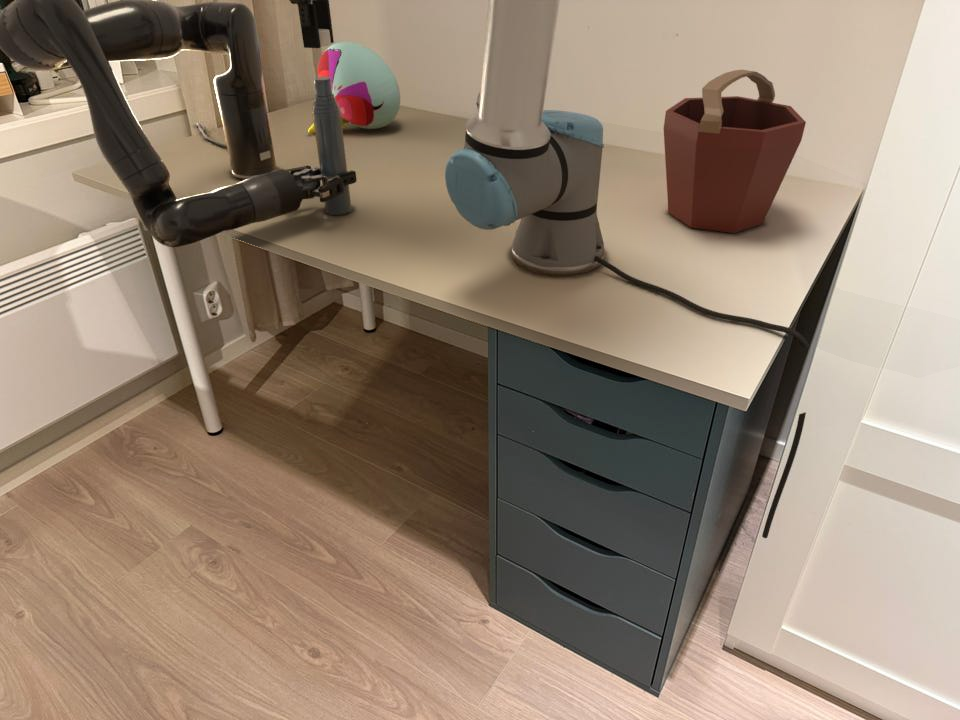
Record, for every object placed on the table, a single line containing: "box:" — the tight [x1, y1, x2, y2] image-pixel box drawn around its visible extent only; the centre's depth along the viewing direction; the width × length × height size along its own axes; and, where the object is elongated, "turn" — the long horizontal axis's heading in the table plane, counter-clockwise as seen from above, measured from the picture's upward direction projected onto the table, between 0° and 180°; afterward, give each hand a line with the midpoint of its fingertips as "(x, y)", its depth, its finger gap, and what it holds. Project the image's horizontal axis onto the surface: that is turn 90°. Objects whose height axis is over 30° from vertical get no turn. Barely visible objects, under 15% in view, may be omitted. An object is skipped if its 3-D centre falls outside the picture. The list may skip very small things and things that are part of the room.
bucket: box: [663, 69, 807, 234], centre depth 125 cm, size 24×22×25 cm
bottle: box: [311, 76, 352, 216], centre depth 128 cm, size 5×5×24 cm
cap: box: [318, 29, 332, 47], centre depth 118 cm, size 4×4×2 cm
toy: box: [307, 41, 401, 134], centre depth 176 cm, size 24×24×20 cm
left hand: (345, 172), depth 133 cm, fingers closed on bottle, 5 cm apart
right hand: (319, 44), depth 118 cm, fingers closed on cap, 4 cm apart
